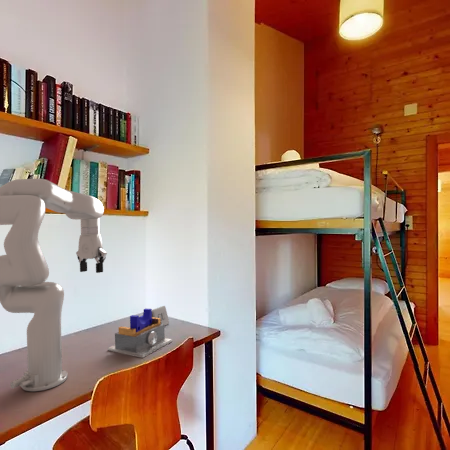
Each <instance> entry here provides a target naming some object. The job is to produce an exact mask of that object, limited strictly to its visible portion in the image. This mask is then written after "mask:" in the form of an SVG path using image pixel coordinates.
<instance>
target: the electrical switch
mask: <svg viewBox="0 0 450 450" xmlns="http://www.w3.org/2000/svg"><path fill="white" fill-rule="evenodd" d="M152 317H155V318H161V324H164V327H165V326H167V325H169V324H170V321H169V315H168V311H167V307H166V305H162V306H160V307H157V308H154V309H152Z"/></svg>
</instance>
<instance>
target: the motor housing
mask: <svg viewBox="0 0 450 450" xmlns="http://www.w3.org/2000/svg"><path fill="white" fill-rule="evenodd" d="M117 330H118V332H115V333H114V345H111V346H109V347H107V351H109V352H114V353H119V354H123V355H126V356H127V355H128V356H132V357H137V358H141V359H143V358H145V357H147V356H149V355H150V354H152V353H154V352H156V351H157V350H160V349H161V348H163V347H165V346H166V345H169V344H170V343H172V342H173V339H172V338H168V337H167V338H166V337H165V326H164V324H161V318H155V317H152V323H151V324H149V325H148V326H146V327H145V328H143V329H141V330H140V331H138V332H136V329H135V328H130V326H128V327H127V326H118V329H117Z"/></svg>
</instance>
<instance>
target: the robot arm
mask: <svg viewBox="0 0 450 450" xmlns="http://www.w3.org/2000/svg"><path fill="white" fill-rule="evenodd" d="M103 205H104V204H103V203H102V202H101V200H99V199H98V198H96V197H94V196H92V195H89V194H85V193H82V192H81V193H80V192H76V191H72V190H69V189H64V188H63V187H61V186H59V185H57V184H56V183H54V182H52V181H50V180H48V179H44V178H20V179H19V178H18V179H13V180H11V181H8V182H6V183H5V184H3V185H1V186H0V226H7V225H8V226H9V225H11V227H10V229H9V231H8V233H7V234H6V237H5V238H4V240H3V249H4V252H5V254H2V255H0V304H1V306H2V308H3V309H4V310H5V311H6V312H8V313H12V314H29V313H30V314H33V316H32V318H31V320H30V321H29V322H28V325H27V327H26V351H27V352H26V357H27V358H26V359H27V363H26V364H27V370H26V371H24V372H23V375H22V376H21V377H20V378H19V379H15V380H13V381H11V382H10V388H11V389H15V388H17V387H20V388H22V390H23V391H26V392H40V391H46V390H50V389H52V388H55V387H58V386H59V385H61V384H63V383H64V382H66V380H67V379H68V371H66V370H65V369H63V354H62V353H63V352H62V351H63V349H62V311H63V304H64V300H65V292H64V291H65V290H64V288H63V286H62V285H60V284H59V283H56V282H54V281H47V280H48V278H49V275H50V268H49V266H48V264H47V260H46V258H45V256H44V253H43V251H42V247H41V244H40V242H39V231H40V228H41V225H42V223H43V220H44V218H45V214H46V209H48V210H51V211H53V212H56V213H61V214H65V216H66V217H67V218H69V219H70V220H76V221H77V220H80V235H79V240H78V249H77V251H76V252H75V254H76V257H77V260H78V263H79V272H80V273H84V272H87V271H88V262H87V260H90V259H91V260H92V259H94V260H95V262H96V263H95V273H97V274H100V273H103V272H104V263H105V260H106V257H107V254H108V253H107V251H105V250H104V249H103V240H102V236H101V222H100V220H101V217H102V216H103V215H104V212H105V208H104V206H103Z"/></svg>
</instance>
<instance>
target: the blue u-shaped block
mask: <svg viewBox="0 0 450 450" xmlns="http://www.w3.org/2000/svg"><path fill="white" fill-rule="evenodd" d="M152 310H153V309H152V308H146V307H145V308H144V309H143V313H142V315H136V314H135V315H134V314H131V315H130V316H129V322H130V323H129V327H130V328H135V329H136V332H138V331H140V330H141V329H143V328H145V327H146V326H148V325H149V324H151V323H152Z"/></svg>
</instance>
